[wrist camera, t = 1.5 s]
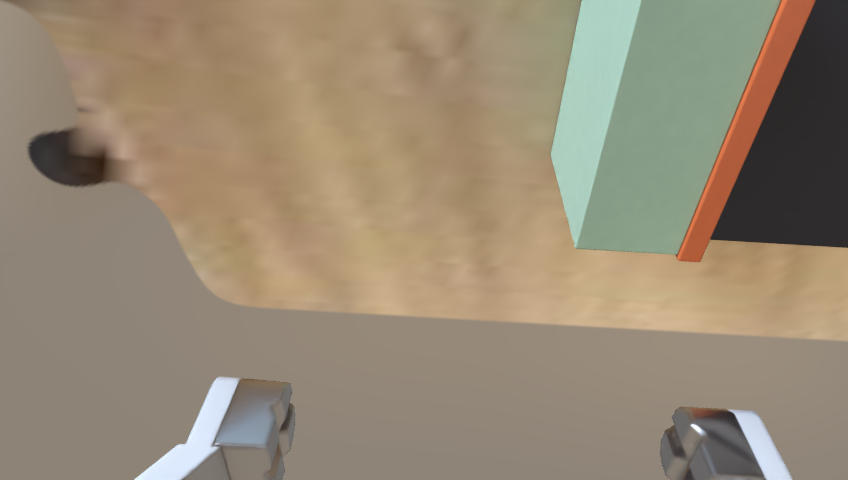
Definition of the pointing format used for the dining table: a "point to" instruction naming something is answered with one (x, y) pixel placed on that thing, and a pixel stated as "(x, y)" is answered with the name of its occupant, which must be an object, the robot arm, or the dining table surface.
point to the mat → (799, 147)
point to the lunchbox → (665, 115)
